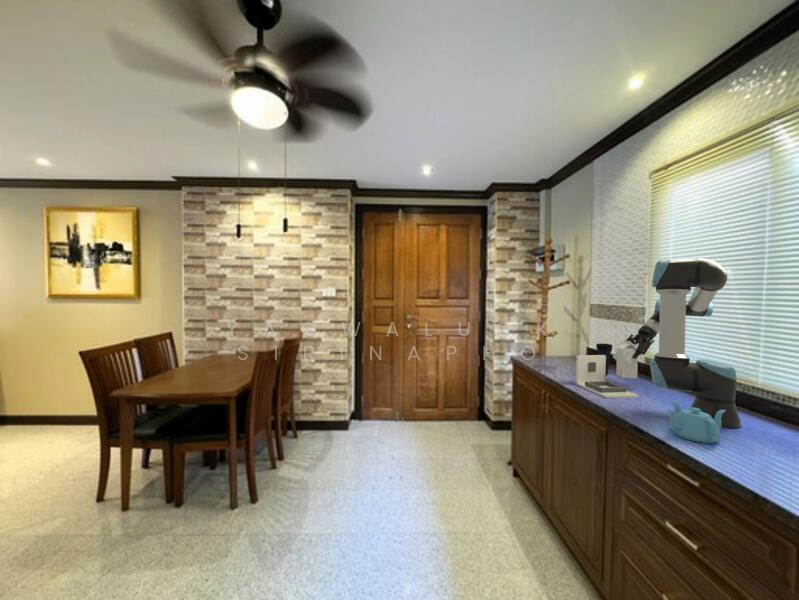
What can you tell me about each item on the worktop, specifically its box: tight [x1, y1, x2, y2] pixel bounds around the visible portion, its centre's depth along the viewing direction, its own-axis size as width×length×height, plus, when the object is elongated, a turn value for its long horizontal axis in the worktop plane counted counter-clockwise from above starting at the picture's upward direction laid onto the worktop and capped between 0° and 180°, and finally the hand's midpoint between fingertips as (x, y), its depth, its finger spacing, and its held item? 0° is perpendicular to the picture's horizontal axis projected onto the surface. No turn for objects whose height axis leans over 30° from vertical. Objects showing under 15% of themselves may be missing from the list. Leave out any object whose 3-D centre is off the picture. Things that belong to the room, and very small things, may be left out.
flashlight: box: [595, 342, 613, 379], centre depth 203 cm, size 8×8×20 cm
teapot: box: [667, 400, 726, 444], centre depth 122 cm, size 15×15×10 cm
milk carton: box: [615, 339, 639, 379], centre depth 183 cm, size 7×7×19 cm
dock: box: [575, 354, 639, 399], centre depth 177 cm, size 24×16×16 cm, turn 6°
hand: (621, 360), depth 183 cm, fingers closed on milk carton, 9 cm apart
